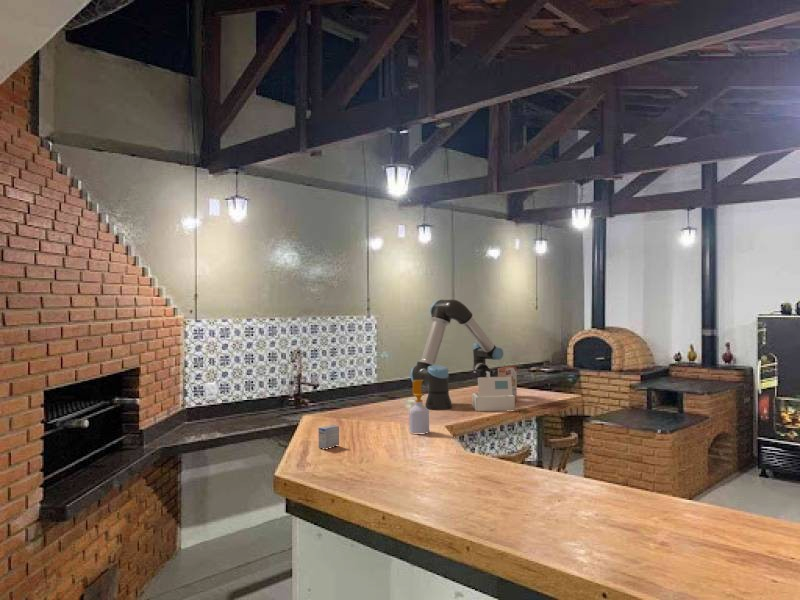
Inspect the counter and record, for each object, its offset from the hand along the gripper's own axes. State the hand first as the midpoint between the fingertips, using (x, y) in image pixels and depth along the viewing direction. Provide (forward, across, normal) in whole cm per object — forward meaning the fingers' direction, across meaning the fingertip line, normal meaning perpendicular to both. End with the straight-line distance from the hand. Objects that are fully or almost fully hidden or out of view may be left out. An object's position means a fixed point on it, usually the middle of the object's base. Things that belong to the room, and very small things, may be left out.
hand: (488, 375), depth 332 cm
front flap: (+16, -1, -4) cm, 16 cm away
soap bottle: (+65, +44, -17) cm, 80 cm away
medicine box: (+89, +83, -16) cm, 123 cm away
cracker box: (-10, -12, -18) cm, 24 cm away
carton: (+9, 0, -18) cm, 20 cm away
